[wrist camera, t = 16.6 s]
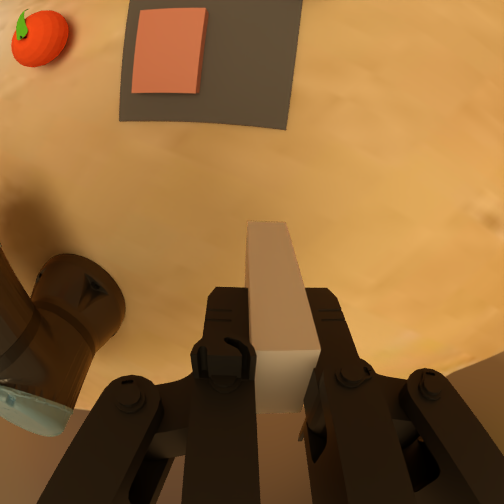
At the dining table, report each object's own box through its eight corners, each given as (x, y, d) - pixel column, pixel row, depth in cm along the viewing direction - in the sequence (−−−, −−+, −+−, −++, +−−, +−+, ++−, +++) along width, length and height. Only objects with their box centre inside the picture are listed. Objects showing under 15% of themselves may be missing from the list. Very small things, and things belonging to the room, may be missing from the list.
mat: (121, 120, 29) (119, 121, 29) (132, -4, 22) (130, -5, 21) (285, 129, 31) (285, 130, 30) (301, 0, 23) (302, -1, 23)
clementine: (29, 28, 22) (-7, 25, 15) (71, -2, 21) (38, -13, 15) (41, 76, 25) (5, 80, 19) (85, 48, 25) (51, 44, 18)
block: (199, 93, 28) (139, 92, 27) (208, 13, 23) (147, 15, 23) (195, 93, 26) (131, 93, 25) (205, 7, 21) (140, 10, 21)
